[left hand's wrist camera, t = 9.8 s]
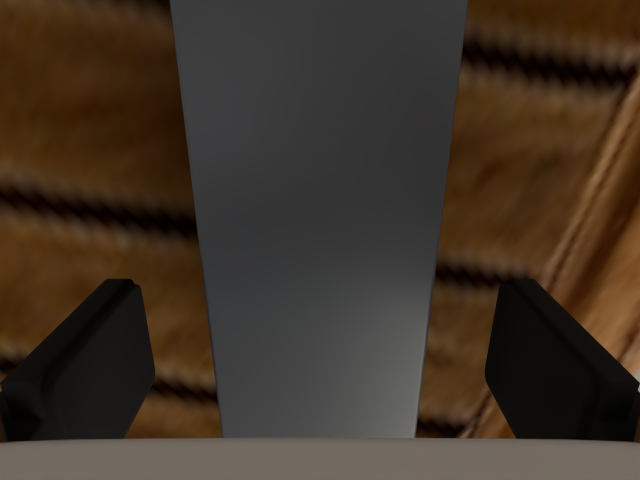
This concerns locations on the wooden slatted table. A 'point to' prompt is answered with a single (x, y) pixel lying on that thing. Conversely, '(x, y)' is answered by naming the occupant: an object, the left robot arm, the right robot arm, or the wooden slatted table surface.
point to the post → (318, 203)
